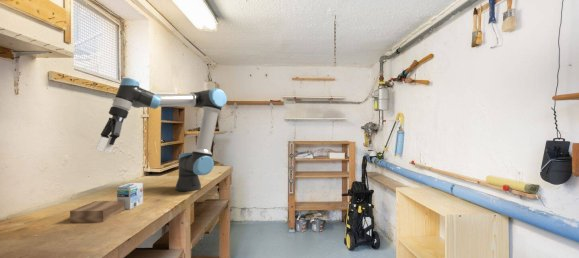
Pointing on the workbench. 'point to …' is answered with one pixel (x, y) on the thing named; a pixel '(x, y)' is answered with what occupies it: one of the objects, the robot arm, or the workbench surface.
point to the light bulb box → (130, 194)
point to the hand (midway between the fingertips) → (103, 151)
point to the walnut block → (97, 211)
